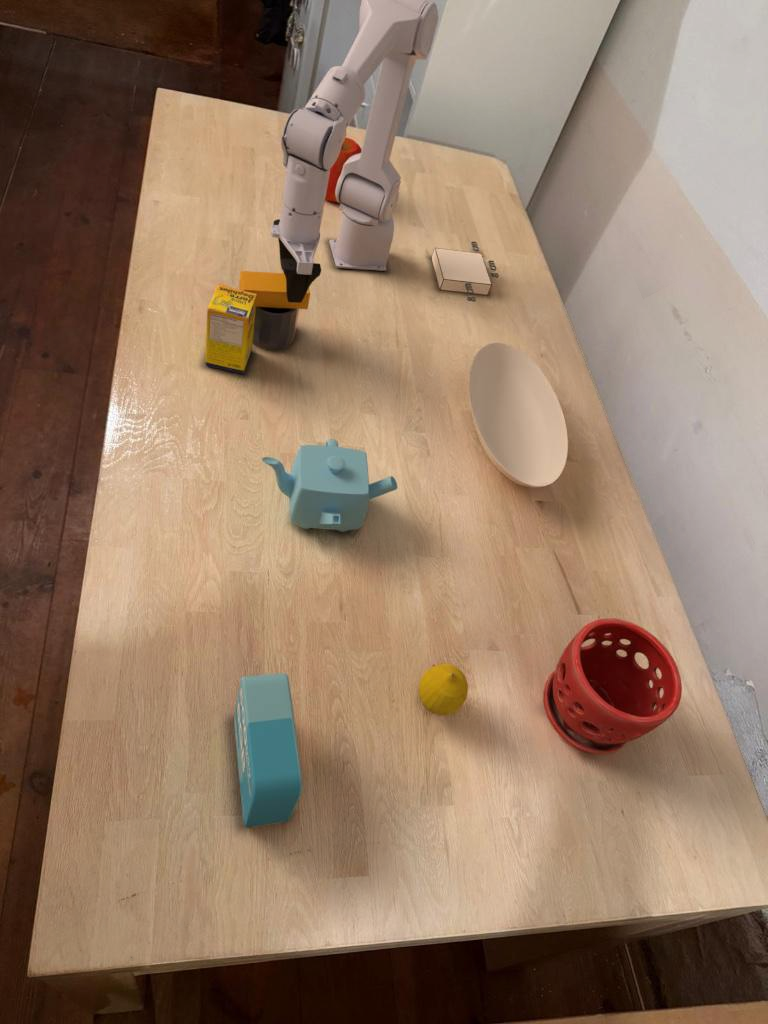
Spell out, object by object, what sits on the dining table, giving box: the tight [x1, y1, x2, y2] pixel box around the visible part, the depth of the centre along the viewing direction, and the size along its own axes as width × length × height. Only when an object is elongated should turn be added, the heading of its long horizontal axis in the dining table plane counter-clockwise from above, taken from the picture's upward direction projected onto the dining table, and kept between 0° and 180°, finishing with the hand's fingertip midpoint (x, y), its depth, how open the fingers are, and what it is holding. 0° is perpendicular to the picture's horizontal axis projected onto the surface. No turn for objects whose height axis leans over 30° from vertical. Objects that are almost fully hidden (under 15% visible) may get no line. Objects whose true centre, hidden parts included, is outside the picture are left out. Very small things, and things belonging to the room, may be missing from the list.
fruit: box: [418, 663, 469, 716], centre depth 85 cm, size 6×6×8 cm
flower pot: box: [542, 618, 683, 755], centre depth 87 cm, size 13×13×12 cm
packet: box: [238, 270, 311, 310], centre depth 113 cm, size 10×4×3 cm, turn 102°
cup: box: [252, 307, 300, 351], centre depth 117 cm, size 8×8×7 cm
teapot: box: [261, 438, 399, 532], centre depth 97 cm, size 18×14×10 cm
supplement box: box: [205, 284, 257, 375], centre depth 110 cm, size 6×6×11 cm
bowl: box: [468, 342, 569, 488], centre depth 115 cm, size 30×15×6 cm, turn 4°
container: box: [430, 241, 500, 303], centre depth 140 cm, size 20×12×3 cm, turn 8°
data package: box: [233, 672, 304, 828], centre depth 74 cm, size 12×4×12 cm, turn 12°
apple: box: [325, 136, 362, 203], centre depth 145 cm, size 11×11×11 cm
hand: (291, 284), depth 113 cm, fingers open, 7 cm apart
